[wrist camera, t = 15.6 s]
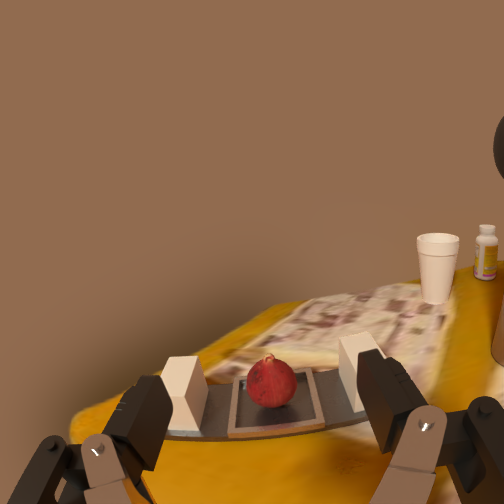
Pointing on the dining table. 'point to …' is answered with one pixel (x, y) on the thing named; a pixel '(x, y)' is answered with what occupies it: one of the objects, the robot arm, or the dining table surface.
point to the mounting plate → (274, 411)
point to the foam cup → (437, 265)
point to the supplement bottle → (486, 253)
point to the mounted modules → (196, 390)
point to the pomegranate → (271, 382)
